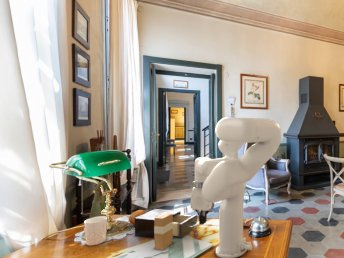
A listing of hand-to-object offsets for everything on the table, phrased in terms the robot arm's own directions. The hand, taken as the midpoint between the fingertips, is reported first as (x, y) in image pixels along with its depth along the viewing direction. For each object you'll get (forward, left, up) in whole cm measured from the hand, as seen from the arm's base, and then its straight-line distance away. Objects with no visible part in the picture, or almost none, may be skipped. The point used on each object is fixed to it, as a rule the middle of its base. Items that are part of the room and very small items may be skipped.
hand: (202, 223), depth 109 cm
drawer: (+11, 0, -5) cm, 12 cm away
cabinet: (+24, 0, -6) cm, 25 cm away
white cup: (+43, +15, -6) cm, 46 cm away
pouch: (+53, +5, -6) cm, 54 cm away
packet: (+11, +12, -6) cm, 17 cm away
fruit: (+41, -5, -6) cm, 42 cm away
